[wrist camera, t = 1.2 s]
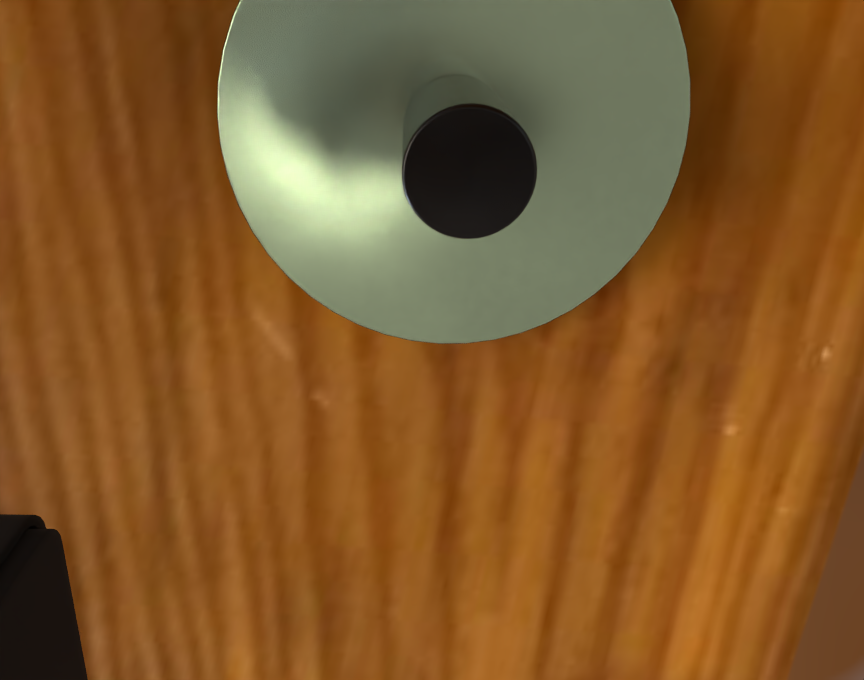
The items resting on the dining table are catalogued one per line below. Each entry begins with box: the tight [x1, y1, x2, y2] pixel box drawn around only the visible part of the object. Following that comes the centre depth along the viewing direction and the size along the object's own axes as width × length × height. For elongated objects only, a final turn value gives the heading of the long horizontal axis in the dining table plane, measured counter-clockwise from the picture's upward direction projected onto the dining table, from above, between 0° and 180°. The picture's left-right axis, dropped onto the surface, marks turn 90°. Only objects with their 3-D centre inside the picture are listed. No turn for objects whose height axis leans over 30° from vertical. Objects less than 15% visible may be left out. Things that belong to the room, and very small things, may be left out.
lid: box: [217, 0, 690, 344], centre depth 21 cm, size 14×14×7 cm
